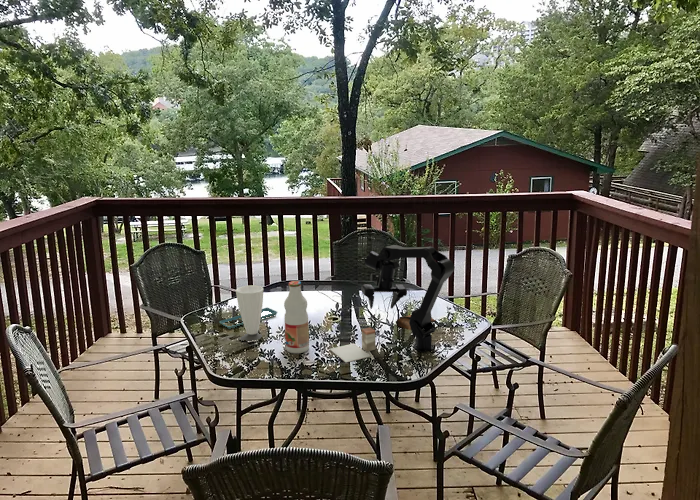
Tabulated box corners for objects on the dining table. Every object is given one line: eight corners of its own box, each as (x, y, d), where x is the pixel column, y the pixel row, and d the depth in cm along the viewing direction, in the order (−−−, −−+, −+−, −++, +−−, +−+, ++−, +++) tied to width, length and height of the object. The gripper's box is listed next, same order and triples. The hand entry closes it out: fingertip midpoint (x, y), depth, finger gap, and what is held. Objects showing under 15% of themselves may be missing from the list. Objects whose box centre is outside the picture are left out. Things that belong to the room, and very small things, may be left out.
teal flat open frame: (228, 331, 232) (228, 325, 231) (218, 325, 238) (218, 320, 238) (278, 316, 248) (277, 311, 248) (267, 312, 255) (267, 307, 254)
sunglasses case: (409, 330, 228) (404, 315, 229) (399, 334, 233) (394, 319, 234) (437, 320, 239) (431, 306, 240) (427, 324, 244) (422, 310, 245)
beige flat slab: (371, 356, 202) (371, 355, 202) (345, 362, 197) (345, 362, 197) (353, 344, 214) (353, 343, 214) (329, 349, 209) (329, 348, 209)
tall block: (375, 349, 209) (375, 330, 207) (366, 351, 207) (366, 332, 205) (370, 345, 212) (370, 327, 210) (361, 347, 210) (361, 329, 209)
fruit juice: (309, 353, 206) (307, 285, 200) (285, 354, 205) (282, 286, 199) (309, 343, 215) (306, 278, 209) (286, 345, 214) (283, 279, 208)
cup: (239, 344, 216) (236, 294, 211) (238, 334, 227) (234, 286, 222) (267, 340, 219) (265, 291, 214) (264, 331, 230) (262, 284, 225)
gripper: (400, 267, 225) (395, 299, 230) (359, 266, 219) (354, 299, 225) (410, 277, 215) (404, 311, 220) (367, 277, 209) (362, 312, 215)
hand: (381, 308), depth 220 cm, fingers open, 9 cm apart
